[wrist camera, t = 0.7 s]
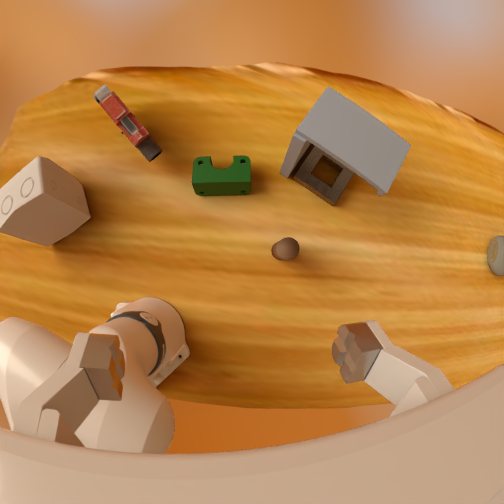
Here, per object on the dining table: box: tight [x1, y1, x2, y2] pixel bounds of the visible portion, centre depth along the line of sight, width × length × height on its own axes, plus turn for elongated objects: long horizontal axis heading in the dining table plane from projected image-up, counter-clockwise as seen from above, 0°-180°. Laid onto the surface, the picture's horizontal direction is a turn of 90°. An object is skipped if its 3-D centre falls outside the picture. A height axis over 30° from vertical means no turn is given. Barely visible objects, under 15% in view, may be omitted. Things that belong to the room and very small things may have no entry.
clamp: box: [192, 156, 251, 196], centre depth 58 cm, size 12×6×9 cm, turn 85°
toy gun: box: [94, 84, 162, 162], centre depth 53 cm, size 4×20×15 cm, turn 41°
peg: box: [272, 238, 299, 260], centre depth 54 cm, size 4×4×12 cm
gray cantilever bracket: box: [280, 86, 411, 196], centre depth 50 cm, size 11×16×21 cm
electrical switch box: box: [0, 156, 91, 246], centre depth 51 cm, size 15×15×20 cm
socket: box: [293, 146, 354, 206], centre depth 60 cm, size 10×10×2 cm
